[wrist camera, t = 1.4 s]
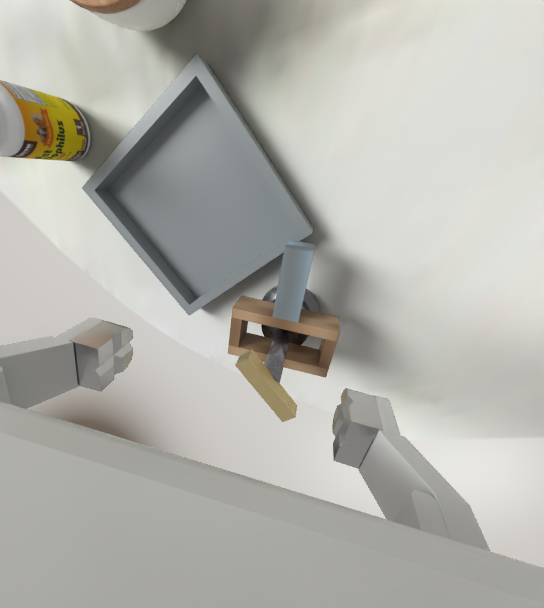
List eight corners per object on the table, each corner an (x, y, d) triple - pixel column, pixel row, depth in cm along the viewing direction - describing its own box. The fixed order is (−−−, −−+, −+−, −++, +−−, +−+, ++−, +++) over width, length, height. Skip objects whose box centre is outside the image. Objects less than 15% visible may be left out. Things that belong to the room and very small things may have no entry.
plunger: (249, 302, 34) (202, 375, 21) (297, 272, 31) (276, 335, 19) (282, 346, 35) (257, 437, 23) (331, 321, 33) (332, 408, 20)
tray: (208, 64, 25) (196, 53, 22) (314, 228, 29) (312, 232, 26) (99, 187, 31) (81, 187, 29) (198, 306, 35) (189, 315, 33)
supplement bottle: (82, 173, 31) (-22, 171, 22) (39, 136, 30) (-89, 118, 21) (102, 126, 28) (-6, 103, 19) (55, 85, 28) (-81, 40, 19)
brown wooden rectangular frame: (357, 252, 25) (361, 262, 22) (326, 359, 30) (325, 377, 27) (249, 231, 26) (240, 237, 23) (236, 338, 31) (227, 353, 28)
